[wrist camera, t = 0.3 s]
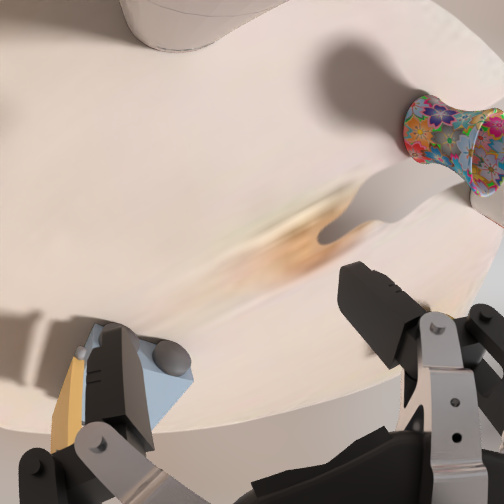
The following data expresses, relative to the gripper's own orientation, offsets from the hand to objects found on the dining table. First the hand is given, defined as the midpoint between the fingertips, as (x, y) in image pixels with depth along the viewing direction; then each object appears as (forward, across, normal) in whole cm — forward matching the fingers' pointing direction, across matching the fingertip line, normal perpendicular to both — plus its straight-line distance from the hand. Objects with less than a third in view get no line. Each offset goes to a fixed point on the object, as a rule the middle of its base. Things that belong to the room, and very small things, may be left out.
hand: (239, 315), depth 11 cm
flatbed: (+19, +13, +23) cm, 32 cm away
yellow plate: (+14, +18, +18) cm, 29 cm away
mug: (+18, -29, -1) cm, 35 cm away
